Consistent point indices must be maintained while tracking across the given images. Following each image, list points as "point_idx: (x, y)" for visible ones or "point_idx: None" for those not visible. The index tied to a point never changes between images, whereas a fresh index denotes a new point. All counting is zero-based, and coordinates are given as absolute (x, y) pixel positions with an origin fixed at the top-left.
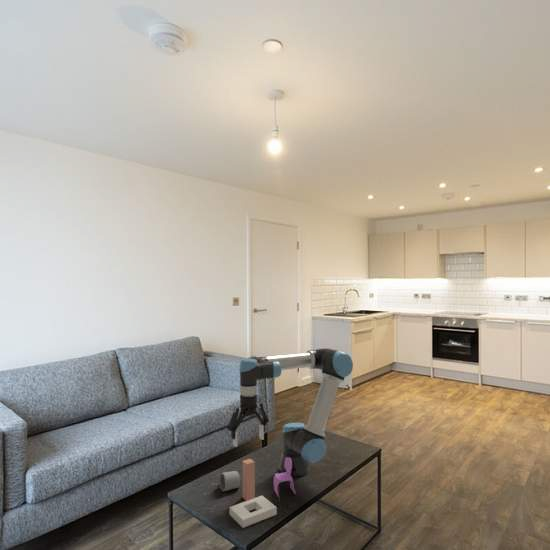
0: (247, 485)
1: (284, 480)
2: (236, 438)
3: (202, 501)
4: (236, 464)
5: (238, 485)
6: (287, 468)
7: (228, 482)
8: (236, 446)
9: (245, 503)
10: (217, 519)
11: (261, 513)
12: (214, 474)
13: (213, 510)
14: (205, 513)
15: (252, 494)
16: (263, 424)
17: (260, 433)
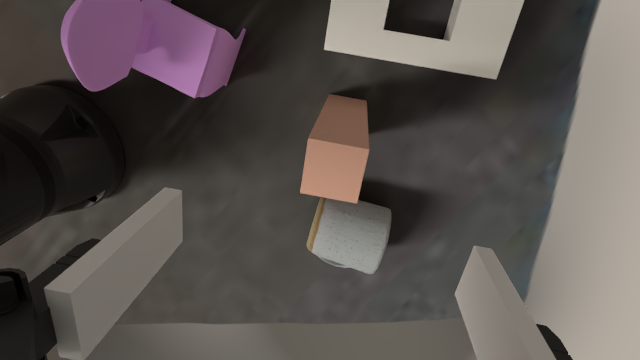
0: (364, 115)
1: (189, 14)
2: (519, 310)
3: (482, 217)
4: (226, 313)
5: None
6: (126, 37)
7: (378, 215)
8: (486, 250)
9: (426, 50)
10: (543, 81)
11: None
12: (326, 315)
13: (503, 143)
14: (538, 148)
15: (339, 99)
16: (35, 306)
17: (153, 252)
